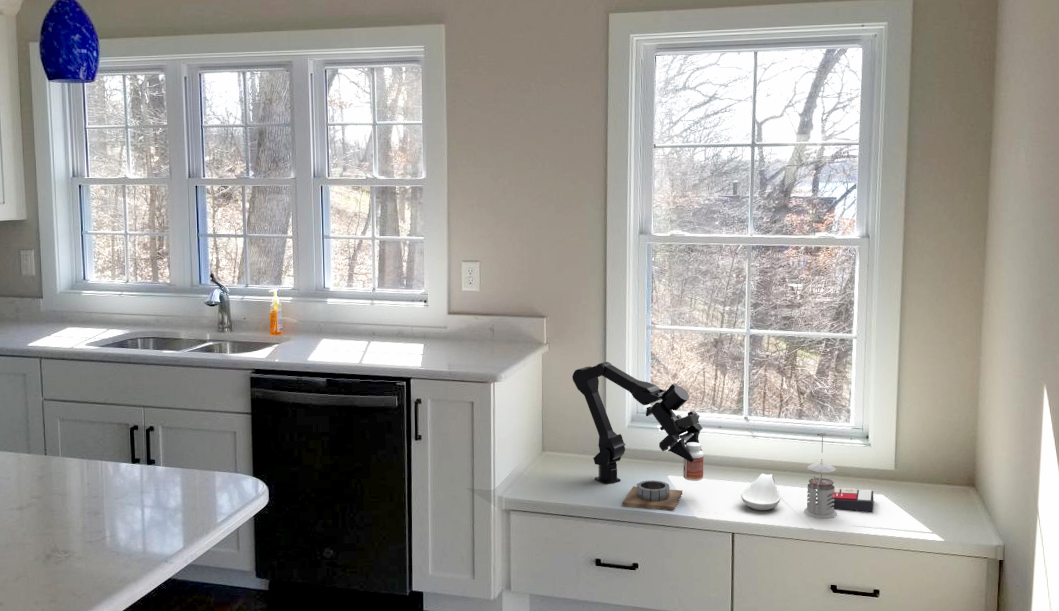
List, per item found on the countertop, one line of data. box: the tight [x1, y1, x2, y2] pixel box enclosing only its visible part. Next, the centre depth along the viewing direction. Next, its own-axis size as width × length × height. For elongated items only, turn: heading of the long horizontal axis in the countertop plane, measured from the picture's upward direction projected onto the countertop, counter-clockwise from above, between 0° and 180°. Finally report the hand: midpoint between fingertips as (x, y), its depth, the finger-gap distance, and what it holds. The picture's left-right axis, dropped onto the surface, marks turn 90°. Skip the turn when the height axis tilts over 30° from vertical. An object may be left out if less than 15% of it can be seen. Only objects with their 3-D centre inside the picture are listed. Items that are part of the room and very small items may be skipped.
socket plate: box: [622, 485, 683, 511], centre depth 307 cm, size 16×16×1 cm
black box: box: [831, 487, 874, 513], centre depth 300 cm, size 11×4×15 cm
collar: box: [636, 479, 671, 502], centre depth 306 cm, size 10×10×4 cm
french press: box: [803, 431, 838, 519], centre depth 291 cm, size 10×12×25 cm
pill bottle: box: [683, 442, 705, 482], centre depth 306 cm, size 6×6×11 cm
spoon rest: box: [740, 473, 782, 511], centre depth 304 cm, size 24×12×7 cm, turn 160°
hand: (697, 458), depth 305 cm, fingers closed on pill bottle, 6 cm apart
